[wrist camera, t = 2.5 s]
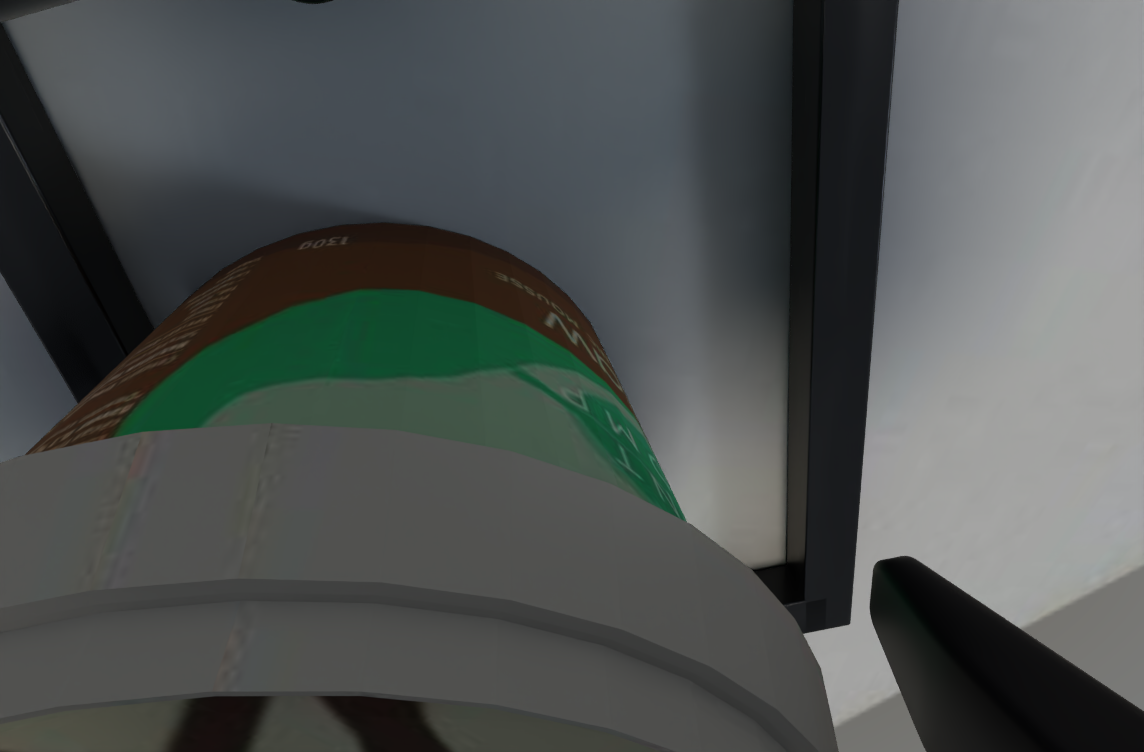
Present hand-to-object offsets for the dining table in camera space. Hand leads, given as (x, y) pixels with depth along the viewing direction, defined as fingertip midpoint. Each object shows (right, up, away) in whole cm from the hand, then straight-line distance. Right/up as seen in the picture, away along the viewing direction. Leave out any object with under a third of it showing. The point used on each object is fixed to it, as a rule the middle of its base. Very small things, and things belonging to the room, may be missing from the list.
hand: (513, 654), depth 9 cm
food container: (-1, +4, +6) cm, 7 cm away
